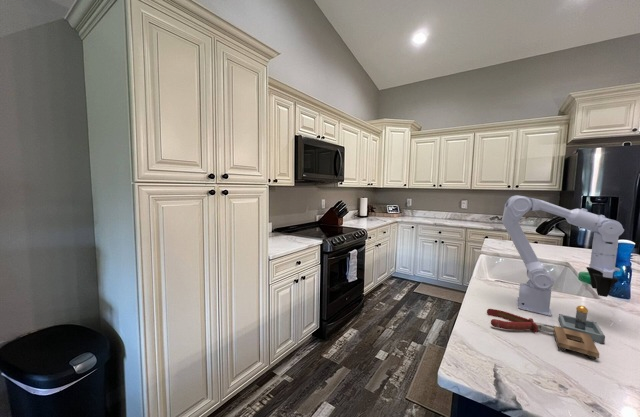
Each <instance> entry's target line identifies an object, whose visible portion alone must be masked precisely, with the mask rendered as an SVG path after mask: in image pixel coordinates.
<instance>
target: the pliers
mask: <svg viewBox="0 0 640 417" xmlns="http://www.w3.org/2000/svg"><path fill="white" fill-rule="evenodd" d="M486 314H487V315H488V316H491V317H495V318H493V319H491V320H490V324H491V326H493V327H494V328H497V329H502V330H506V331H507V330H508V331H531V332H532V333H538V331H541V332H545V333H546V332H547V333H552V334H553V333H554V328H553V327H554V326H555V325H550V324H547V323H542V322H538V321H537V322H536V321H534V319H533V318H531V317H530V318H526V317H523V316H519V315H516V314H514V313H511V312H508V311H504V310H501V309H494V308H488V309H487V310H486ZM496 318H500V319H496ZM501 318H502V319H505V320H506V321H505V320H501ZM507 320H508V321H507ZM554 334H555V333H554Z"/></svg>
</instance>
